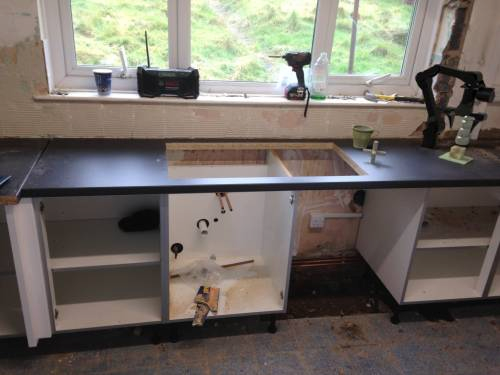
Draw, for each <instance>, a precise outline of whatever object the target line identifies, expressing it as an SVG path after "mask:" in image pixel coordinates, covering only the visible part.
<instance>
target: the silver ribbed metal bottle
mask: <svg viewBox="0 0 500 375" xmlns="http://www.w3.org/2000/svg"><path fill="white" fill-rule="evenodd" d="M472 113H475V107H473V112H472ZM473 120H475V118H474V117H470V116H465V117H461V116H460V122H459V129H458V132H457V134H456V136H455V139H454V140H455V141H454V142H455V144H456V145H458V146H467V145H468V144H469V143H470V137H471V136H470V135H471V133H470V129H471V126H472V124H473Z"/></svg>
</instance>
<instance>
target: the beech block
mask: <svg viewBox="0 0 500 375" xmlns="http://www.w3.org/2000/svg"><path fill="white" fill-rule="evenodd" d="M449 152H450V155H449V158H453V159H457V160H461V159H462V158H463V157H464V156H465V154H466V147H462V146H460V145H454V146H451V147H450V151H449Z"/></svg>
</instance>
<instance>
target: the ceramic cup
mask: <svg viewBox="0 0 500 375" xmlns="http://www.w3.org/2000/svg"><path fill="white" fill-rule="evenodd" d="M375 132H377V134H376V135H375V136H373V137H372V135H373V134H374V133H375ZM379 135H380V132H379V130H377V129H374V127H372V126H369V125H366V124H355V125H353V126H352V137H353V139H352V141H353V148H355V149H360V150H363V149H368V144H369V142H371V140H373V139H374V138H376V137H377V136H379Z"/></svg>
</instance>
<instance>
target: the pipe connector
mask: <svg viewBox="0 0 500 375" xmlns="http://www.w3.org/2000/svg"><path fill="white" fill-rule="evenodd" d="M378 146H379V141H377V140H374V141H373V146H372V149H369V148H365V149H362V153H363V154H364V153H365V154H371V157H370V163H371V164H375V162H376V156H377V155H378V156H383V157H385V156H386V154H387V152H386V151H383V150H382V151H381V150H378Z"/></svg>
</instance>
